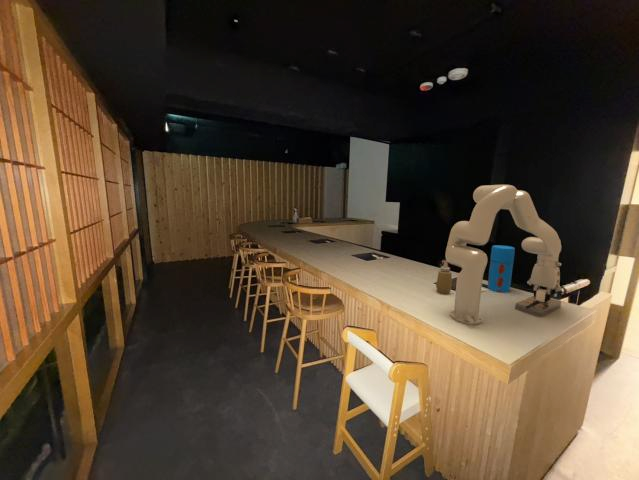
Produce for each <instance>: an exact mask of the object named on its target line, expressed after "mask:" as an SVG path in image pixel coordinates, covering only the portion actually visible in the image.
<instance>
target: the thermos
mask: <svg viewBox="0 0 639 480" xmlns="http://www.w3.org/2000/svg"><path fill="white" fill-rule="evenodd" d="M515 251H516V249H515V247H513V246H509V245H501V244H500V245H492V246H491V253H490V261H489V268H488V269H489V270H488V278H487V290H490V291H492V292H496V293H501V294H502V293H504V294H505V293H510V289H511V286H512V285H511V283H512V275H513V268H514V260H515Z"/></svg>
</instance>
